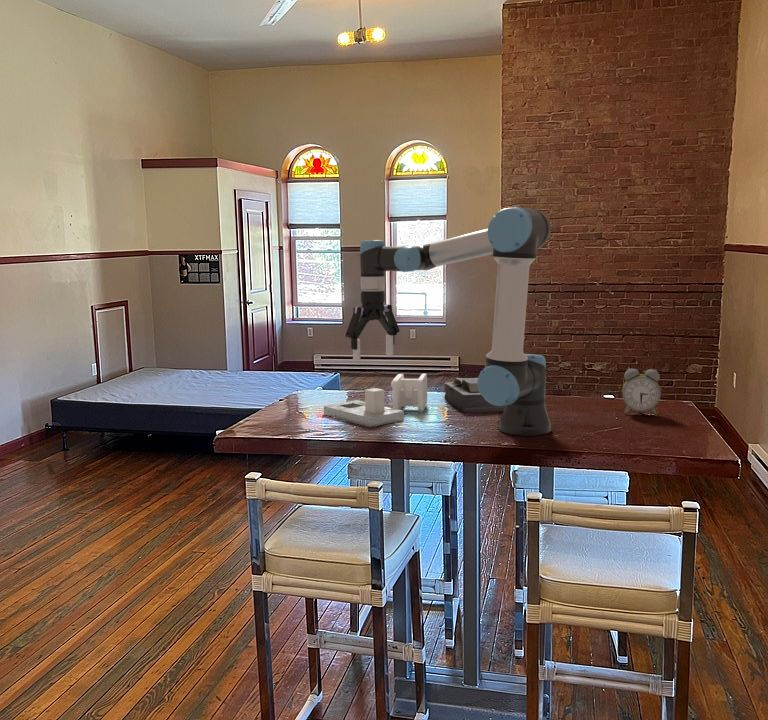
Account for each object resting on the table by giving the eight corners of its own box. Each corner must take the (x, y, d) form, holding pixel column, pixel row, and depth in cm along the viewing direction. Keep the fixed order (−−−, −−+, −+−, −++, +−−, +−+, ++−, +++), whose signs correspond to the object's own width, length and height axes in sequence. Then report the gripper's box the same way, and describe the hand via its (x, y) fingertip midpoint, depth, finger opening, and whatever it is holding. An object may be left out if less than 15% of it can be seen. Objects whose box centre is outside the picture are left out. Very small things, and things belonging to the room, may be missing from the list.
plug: (384, 420, 233) (384, 389, 232) (374, 422, 231) (373, 391, 229) (373, 417, 238) (372, 387, 236) (362, 419, 235) (362, 389, 233)
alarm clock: (621, 415, 235) (622, 369, 233) (621, 411, 242) (622, 366, 239) (660, 417, 232) (661, 370, 229) (659, 413, 238) (660, 367, 236)
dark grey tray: (449, 414, 242) (448, 385, 241) (443, 397, 269) (442, 371, 268) (519, 413, 242) (519, 384, 241) (506, 396, 269) (506, 370, 267)
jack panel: (403, 419, 234) (403, 410, 233) (370, 427, 225) (370, 417, 224) (356, 408, 252) (356, 399, 251) (323, 414, 243) (323, 405, 242)
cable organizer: (422, 414, 241) (422, 380, 239) (391, 414, 242) (390, 379, 241) (427, 405, 255) (427, 372, 254) (397, 404, 257) (397, 372, 255)
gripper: (394, 288, 238) (394, 352, 242) (333, 291, 222) (334, 360, 225) (410, 288, 233) (410, 354, 236) (348, 292, 217) (349, 363, 220)
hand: (373, 357), depth 231 cm, fingers open, 13 cm apart
